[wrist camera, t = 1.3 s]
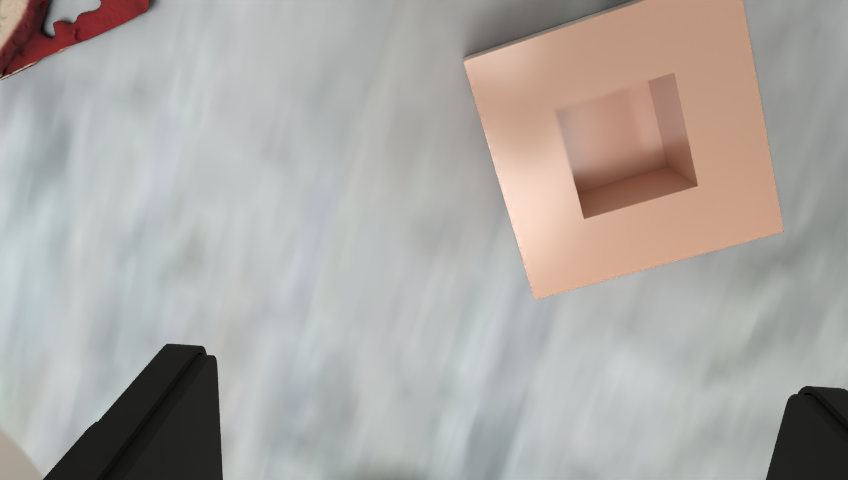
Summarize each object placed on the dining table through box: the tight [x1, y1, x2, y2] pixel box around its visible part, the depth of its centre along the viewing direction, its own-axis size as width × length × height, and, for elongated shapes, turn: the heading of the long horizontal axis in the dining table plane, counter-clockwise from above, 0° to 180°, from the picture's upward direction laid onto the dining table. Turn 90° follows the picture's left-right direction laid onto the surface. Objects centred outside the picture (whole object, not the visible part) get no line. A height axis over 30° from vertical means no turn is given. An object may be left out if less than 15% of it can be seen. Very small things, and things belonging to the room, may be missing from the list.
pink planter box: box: [463, 0, 784, 300], centre depth 35 cm, size 13×13×6 cm
